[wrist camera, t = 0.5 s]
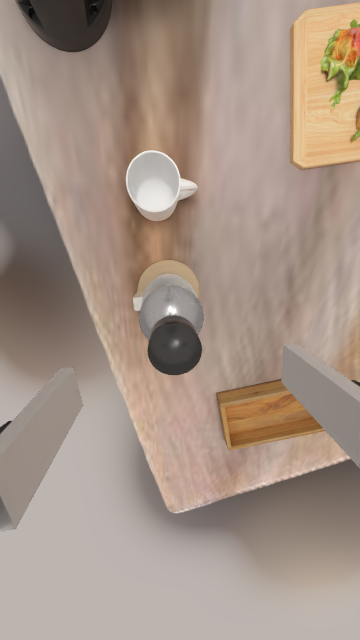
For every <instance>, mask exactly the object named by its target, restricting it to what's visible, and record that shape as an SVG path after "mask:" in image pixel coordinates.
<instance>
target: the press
mask: <svg viewBox="0 0 360 640" xmlns="http://www.w3.org/2000/svg"><path fill="white" fill-rule="evenodd" d="M167 285H176V286H180V287H183V288H186V289H187V290H189V291H190V292H192V293H193V294H194V295H195V296H196V297H197V299H199V294H200V288H199V283H198V280H197V277H196V276H195V274H194V273H193V271H192V270H191V269H190V268H189V267H188V266H186V265H185V264H183V263H181V262H178V261H174V260H162V261H159V262H156V263H154V264H152V265H151V266H149V267H148V268H147V269H146V270H145V271H144V273H143V274H142V276H141V278H140V280H139V283H138V290H137V293H136V294H135V296H134V297H133V303H134V310H135V311H139V310H140V308H141V305H142V303H143V301H144V300H145V298H146V297H147V296H148V295H149V294H150V293H151V292H152V291H154V290H155V289H157V288H159V287H162V286H167Z"/></svg>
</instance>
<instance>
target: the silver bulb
mask: <svg viewBox="0 0 360 640" xmlns="http://www.w3.org/2000/svg"><path fill="white" fill-rule="evenodd" d="M203 320H204V314H203V309H202V306H201V303H200V302H199V300H198V299H197V297H196V296H195V295H194V294H193V293H192V292H190V291H189V290H187V289H186V288H183V287H180V286H176V285H167V286H162V287H159V288H157V289H155V290H154V291H152V292H151V293H150V294H149V295H148V296H147V297H146V298H145V300H144V301H143V303H142V305H141V308H140V312H139V323H140V327H141V329H142V331H143V333H144V335H145V336H146V337H147V338H148V339H149V345H148V356H149V359H150V362H151V363H152V365H153V366H154V367H155V368H156V369H157V370H159V371H160V372H162V373H165V374H168V375H180V374H184V373H186V372H188V371H190V370H191V369H193V368H194V367H195V366H196V365H197V363H198V362H199V360H200V357H201V353H202V346H201V342H200V340H199V337H198V334H199V332H200V330H201V328H202V325H203Z"/></svg>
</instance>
